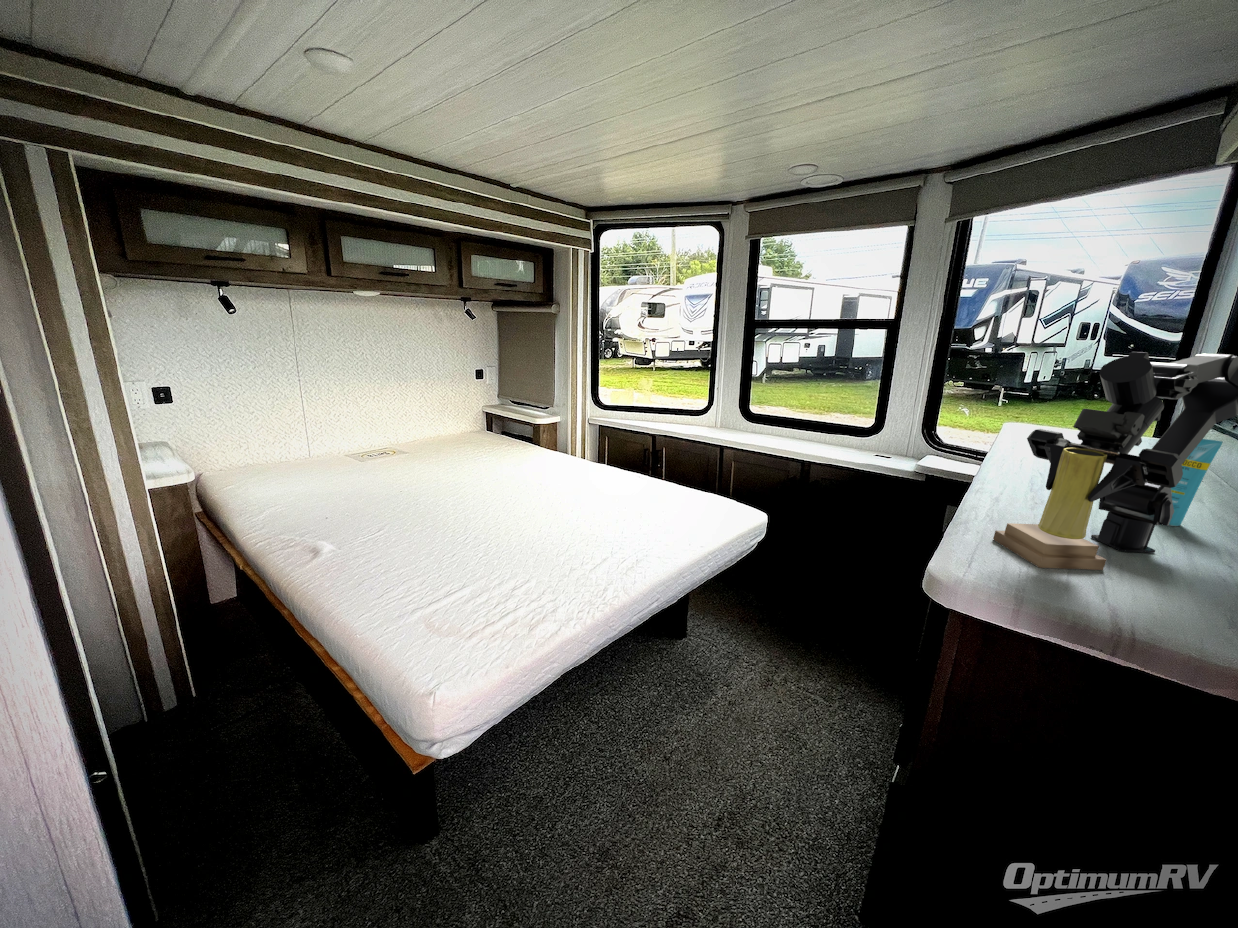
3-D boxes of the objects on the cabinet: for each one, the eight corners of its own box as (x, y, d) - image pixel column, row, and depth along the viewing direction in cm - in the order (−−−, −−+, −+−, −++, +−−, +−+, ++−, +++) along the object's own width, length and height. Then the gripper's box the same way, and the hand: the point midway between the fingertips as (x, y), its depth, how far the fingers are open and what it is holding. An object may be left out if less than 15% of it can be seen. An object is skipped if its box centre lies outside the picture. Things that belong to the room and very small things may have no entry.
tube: (1136, 517, 108) (1166, 433, 102) (1147, 514, 109) (1177, 432, 104) (1183, 530, 101) (1218, 442, 95) (1193, 527, 103) (1229, 440, 97)
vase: (1029, 523, 85) (1050, 446, 81) (1066, 525, 84) (1090, 447, 80) (1054, 538, 79) (1078, 456, 75) (1095, 540, 79) (1122, 457, 74)
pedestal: (1049, 541, 94) (1055, 522, 92) (1102, 569, 83) (1110, 548, 82) (992, 539, 94) (998, 521, 92) (1039, 567, 83) (1045, 546, 82)
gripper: (1047, 383, 84) (993, 450, 84) (1201, 400, 68) (1136, 484, 67) (1061, 423, 90) (1010, 486, 89) (1207, 448, 73) (1146, 526, 73)
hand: (1067, 494), depth 79 cm, fingers closed on vase, 5 cm apart
